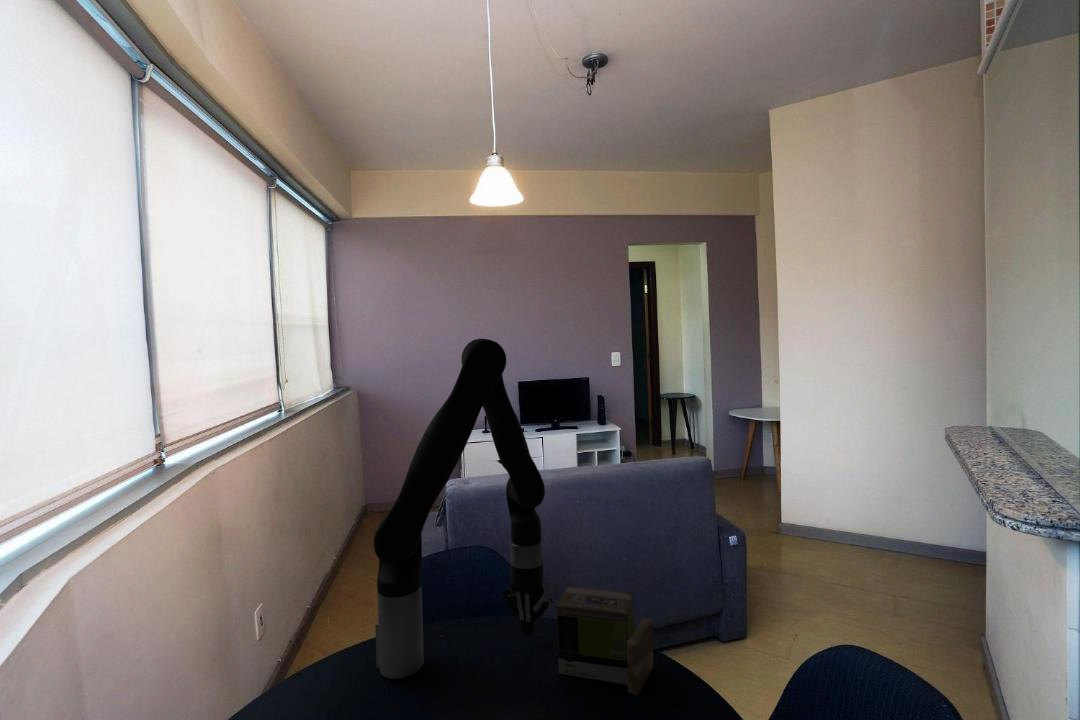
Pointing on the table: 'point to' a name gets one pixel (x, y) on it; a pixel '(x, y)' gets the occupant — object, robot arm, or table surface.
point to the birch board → (639, 656)
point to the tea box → (594, 633)
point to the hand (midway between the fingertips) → (527, 634)
